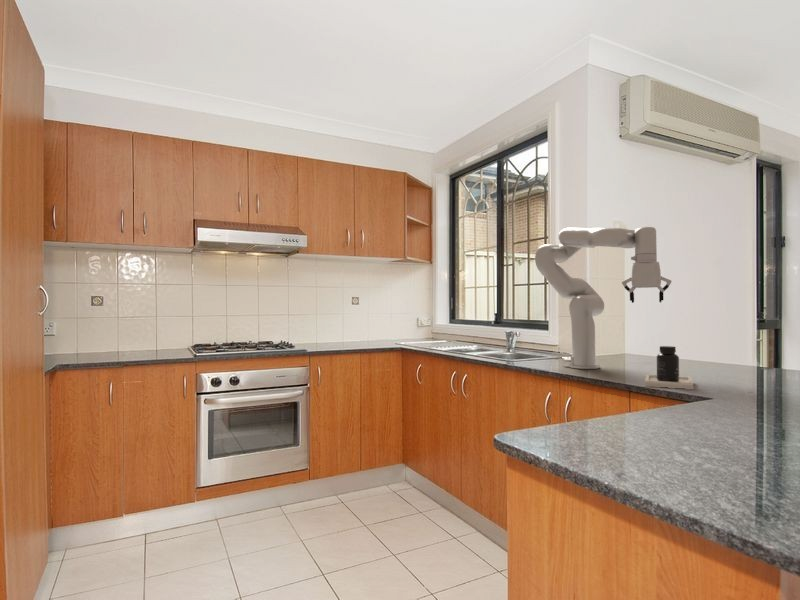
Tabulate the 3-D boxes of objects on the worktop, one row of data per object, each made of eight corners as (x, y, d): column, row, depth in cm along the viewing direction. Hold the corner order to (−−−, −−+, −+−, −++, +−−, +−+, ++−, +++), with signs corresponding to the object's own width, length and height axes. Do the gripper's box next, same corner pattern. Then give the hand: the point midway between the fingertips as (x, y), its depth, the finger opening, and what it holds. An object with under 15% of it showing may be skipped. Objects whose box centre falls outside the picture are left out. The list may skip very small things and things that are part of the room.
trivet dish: (645, 386, 162) (645, 380, 162) (646, 380, 174) (646, 374, 174) (693, 389, 155) (693, 383, 155) (691, 382, 167) (691, 377, 167)
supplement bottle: (682, 382, 160) (682, 347, 160) (660, 382, 162) (660, 347, 162) (675, 379, 167) (674, 345, 167) (654, 379, 168) (653, 345, 168)
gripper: (620, 259, 187) (621, 302, 187) (671, 257, 178) (672, 302, 178) (622, 260, 193) (623, 302, 193) (671, 258, 185) (671, 302, 185)
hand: (646, 302), depth 186 cm, fingers open, 9 cm apart
